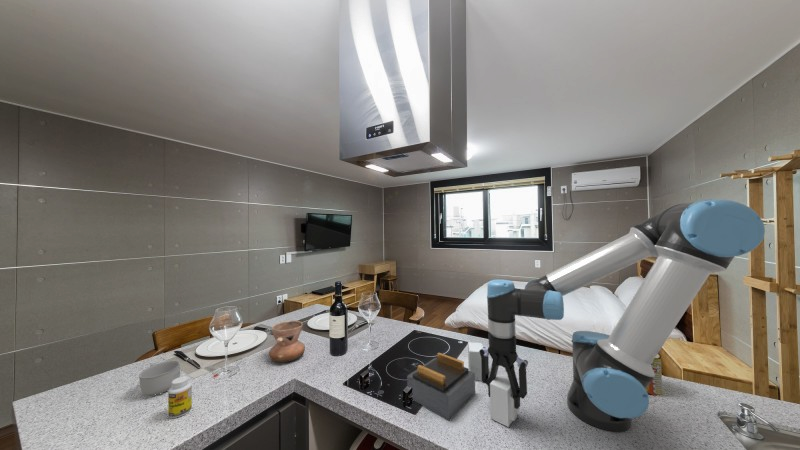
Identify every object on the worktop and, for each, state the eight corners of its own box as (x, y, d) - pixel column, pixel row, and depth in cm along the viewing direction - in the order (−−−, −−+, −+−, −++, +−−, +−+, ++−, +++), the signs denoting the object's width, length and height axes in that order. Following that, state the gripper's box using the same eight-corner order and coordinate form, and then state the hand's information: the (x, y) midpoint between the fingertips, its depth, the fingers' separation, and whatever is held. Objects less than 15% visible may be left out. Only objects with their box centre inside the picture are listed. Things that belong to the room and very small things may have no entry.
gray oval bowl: (182, 389, 93) (182, 366, 93) (139, 404, 85) (139, 380, 85) (176, 375, 102) (176, 354, 102) (137, 387, 94) (137, 365, 94)
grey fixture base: (475, 394, 87) (474, 362, 87) (449, 420, 75) (448, 384, 75) (435, 376, 98) (435, 348, 98) (407, 397, 86) (406, 365, 86)
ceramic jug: (295, 367, 106) (295, 332, 107) (260, 367, 106) (260, 332, 107) (311, 348, 124) (311, 317, 125) (281, 348, 124) (281, 317, 125)
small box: (485, 381, 94) (485, 352, 94) (469, 380, 95) (469, 351, 95) (483, 369, 102) (482, 342, 102) (468, 368, 103) (467, 341, 103)
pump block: (517, 413, 77) (516, 379, 77) (508, 427, 72) (507, 390, 72) (500, 406, 81) (499, 373, 81) (490, 418, 76) (489, 383, 76)
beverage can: (625, 388, 89) (624, 352, 89) (626, 376, 95) (625, 343, 95) (662, 399, 83) (661, 361, 83) (661, 386, 89) (660, 351, 89)
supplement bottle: (163, 420, 77) (163, 386, 78) (175, 408, 83) (175, 375, 83) (185, 417, 79) (185, 383, 79) (195, 405, 84) (195, 373, 84)
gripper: (539, 337, 73) (541, 421, 73) (478, 322, 86) (481, 394, 85) (530, 346, 68) (533, 437, 67) (467, 329, 80) (469, 406, 80)
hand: (504, 413), depth 76 cm, fingers closed on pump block, 5 cm apart
